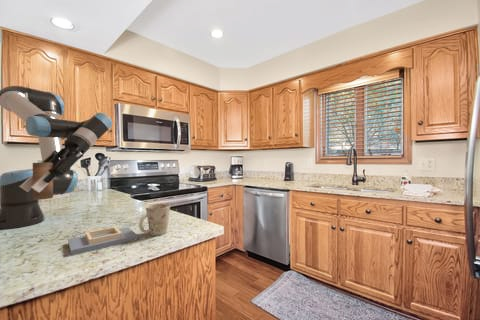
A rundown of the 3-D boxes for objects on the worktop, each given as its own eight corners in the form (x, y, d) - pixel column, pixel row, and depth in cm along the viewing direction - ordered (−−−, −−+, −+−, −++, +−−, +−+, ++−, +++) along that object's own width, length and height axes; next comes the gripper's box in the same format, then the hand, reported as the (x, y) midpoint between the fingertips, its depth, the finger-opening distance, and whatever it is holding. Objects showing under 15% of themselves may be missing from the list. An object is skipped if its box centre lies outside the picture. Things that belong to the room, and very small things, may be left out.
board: (68, 243, 71) (68, 234, 71) (128, 230, 83) (128, 223, 83) (71, 255, 62) (70, 245, 62) (137, 239, 74) (137, 230, 74)
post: (33, 198, 73) (32, 162, 73) (53, 196, 76) (52, 162, 76) (32, 200, 69) (32, 162, 69) (53, 198, 73) (52, 162, 72)
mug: (174, 230, 83) (174, 204, 83) (150, 242, 71) (149, 212, 71) (157, 228, 86) (157, 203, 86) (131, 239, 74) (131, 210, 74)
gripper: (104, 148, 84) (57, 197, 69) (72, 149, 90) (22, 195, 75) (90, 133, 79) (37, 182, 64) (57, 135, 85) (1, 181, 70)
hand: (29, 189), depth 69 cm, fingers closed on post, 5 cm apart
